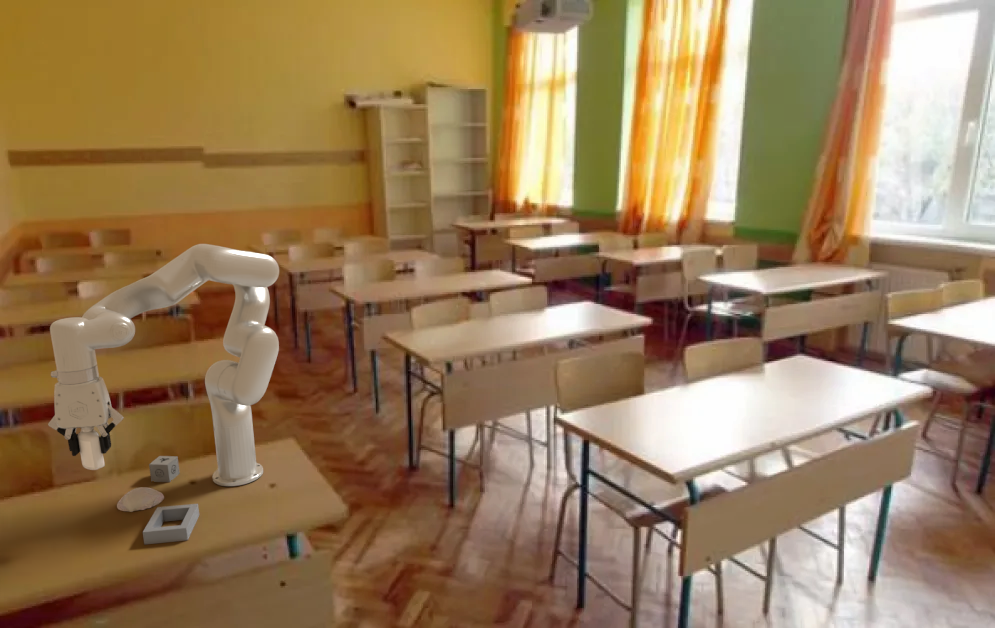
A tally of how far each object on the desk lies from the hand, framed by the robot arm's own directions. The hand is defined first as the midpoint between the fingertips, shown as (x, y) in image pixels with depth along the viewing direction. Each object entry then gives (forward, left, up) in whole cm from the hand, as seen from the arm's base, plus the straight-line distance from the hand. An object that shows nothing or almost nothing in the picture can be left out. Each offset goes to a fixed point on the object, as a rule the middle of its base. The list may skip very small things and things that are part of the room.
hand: (91, 451), depth 155 cm
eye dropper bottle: (0, 0, -4) cm, 4 cm away
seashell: (-12, +4, -20) cm, 23 cm away
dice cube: (-25, +7, -19) cm, 32 cm away
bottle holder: (+3, +16, -19) cm, 25 cm away
